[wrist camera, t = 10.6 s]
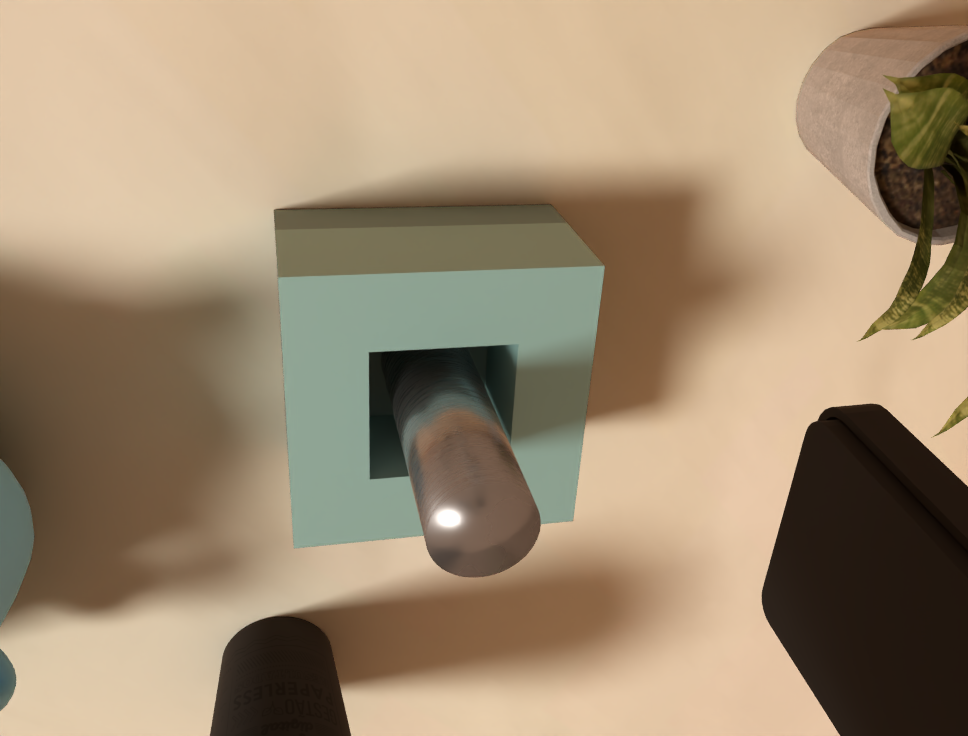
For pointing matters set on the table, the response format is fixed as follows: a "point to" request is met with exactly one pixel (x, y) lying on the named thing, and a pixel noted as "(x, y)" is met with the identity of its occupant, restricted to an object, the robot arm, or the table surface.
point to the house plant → (901, 153)
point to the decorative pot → (12, 560)
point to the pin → (459, 463)
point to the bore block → (428, 325)
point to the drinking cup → (279, 683)
